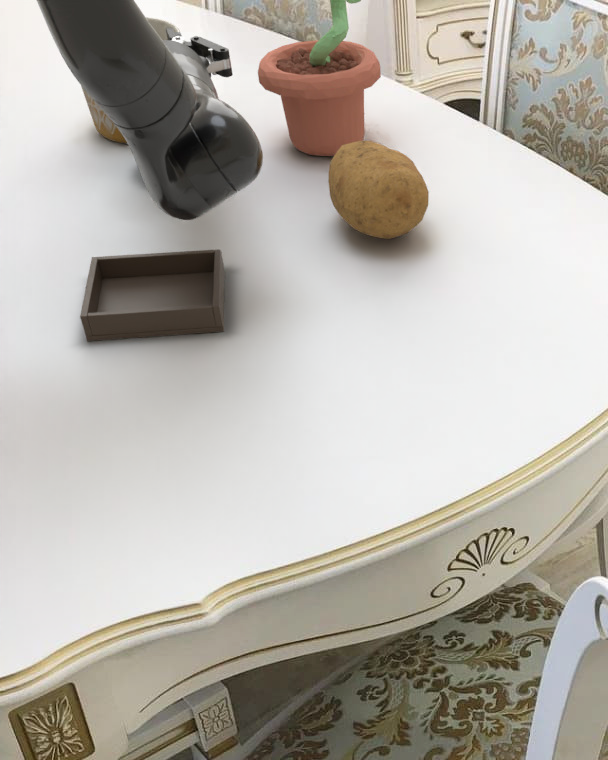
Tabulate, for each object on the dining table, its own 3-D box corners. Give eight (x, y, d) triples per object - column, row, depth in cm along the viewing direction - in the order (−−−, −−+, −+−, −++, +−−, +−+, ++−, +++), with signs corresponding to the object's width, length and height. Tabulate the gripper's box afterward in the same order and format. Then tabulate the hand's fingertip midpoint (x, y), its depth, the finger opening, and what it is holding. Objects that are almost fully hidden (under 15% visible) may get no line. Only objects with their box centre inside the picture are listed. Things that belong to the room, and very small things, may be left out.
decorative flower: (308, 111, 138) (274, -183, 117) (408, 128, 135) (393, -171, 114) (246, 157, 129) (197, -155, 107) (353, 177, 125) (324, -141, 104)
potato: (391, 193, 123) (386, 119, 117) (451, 246, 114) (449, 169, 109) (309, 212, 119) (301, 136, 113) (365, 268, 111) (359, 189, 105)
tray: (87, 341, 101) (79, 316, 99) (98, 281, 108) (91, 256, 106) (223, 331, 102) (219, 307, 100) (225, 272, 110) (220, 248, 108)
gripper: (242, 46, 106) (214, -6, 117) (91, 62, 102) (77, 6, 114) (254, 127, 111) (226, 69, 123) (111, 144, 108) (96, 83, 119)
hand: (155, 39), depth 118 cm, fingers closed on fruit, 2 cm apart
